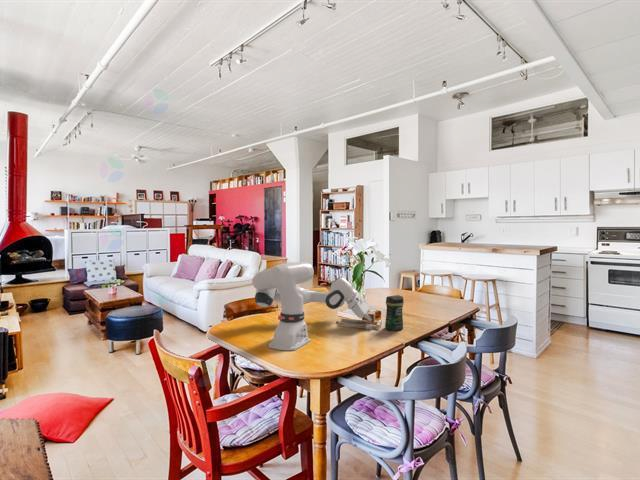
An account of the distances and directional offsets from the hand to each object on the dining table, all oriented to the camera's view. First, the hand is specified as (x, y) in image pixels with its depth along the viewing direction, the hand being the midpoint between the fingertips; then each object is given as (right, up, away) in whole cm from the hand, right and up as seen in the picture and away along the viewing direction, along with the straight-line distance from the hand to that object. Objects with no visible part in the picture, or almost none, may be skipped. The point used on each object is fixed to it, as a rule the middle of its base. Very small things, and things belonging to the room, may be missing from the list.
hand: (372, 318), depth 202 cm
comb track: (-7, -4, +3) cm, 9 cm away
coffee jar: (+12, -5, -3) cm, 13 cm away
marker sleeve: (-1, -4, 0) cm, 4 cm away
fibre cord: (-8, -4, +3) cm, 10 cm away
